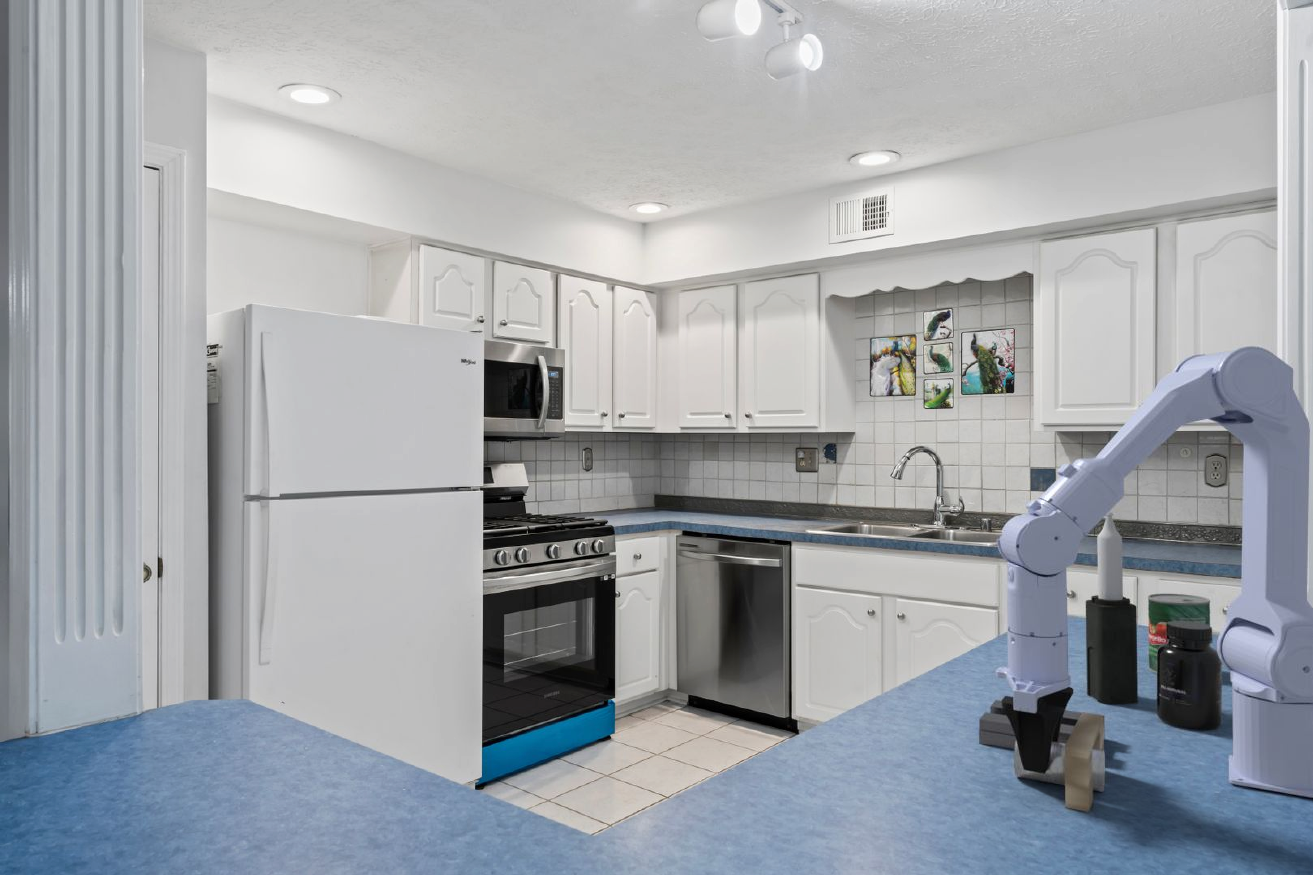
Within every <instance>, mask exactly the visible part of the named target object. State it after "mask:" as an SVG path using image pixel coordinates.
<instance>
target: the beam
mask: <svg viewBox="0 0 1313 875" xmlns="http://www.w3.org/2000/svg"><path fill="white" fill-rule="evenodd" d="M1103 716H1104V715H1103V714H1098V713H1092V712H1091V713H1090V712H1083V711H1082V713H1081V715H1080V717H1079V719H1078V721H1077V723H1076V725H1075V727H1074V729H1073V731H1072V733H1071V735H1070V737H1069V739H1068V741H1067V743H1066V745H1065V785H1064V787H1065V788H1064V789H1065V790H1064V793H1065V794H1064V796H1065V797H1064V798H1065V808H1068V809H1073V810H1076V811H1077V810H1078V811H1081V812H1086V813H1087V812H1088V813H1089V812H1090V810H1091V807H1092V804H1093V801H1094V790H1093V772H1092V748H1096V749H1102V750H1104V748H1105V746H1104V745H1105V744H1104V742H1105V740H1103ZM1104 751H1105V750H1104Z"/></svg>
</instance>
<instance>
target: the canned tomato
mask: <svg viewBox="0 0 1313 875" xmlns="http://www.w3.org/2000/svg"><path fill="white" fill-rule="evenodd" d="M1147 599H1148V601H1147V602H1148V608H1147V610H1148V663H1149V664H1148V669H1149V670H1148V671H1150V672H1151V673H1152V674H1156V675H1157V650H1158V648H1159V647H1160V646H1161V645H1162V644H1164V643H1166V642H1168V639H1167V638H1166V624H1167V623H1168V622H1170V621H1189V622H1197V623H1202V624H1206V625H1209V626H1211V607H1210V606H1211V605H1210V603H1211V600H1210V599H1209V598H1207V597H1203V596H1199V595H1193V594H1183V593H1152V594H1149V595H1148V596H1147Z"/></svg>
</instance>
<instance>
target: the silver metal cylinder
mask: <svg viewBox="0 0 1313 875" xmlns="http://www.w3.org/2000/svg"><path fill="white" fill-rule="evenodd" d="M1065 745H1066V744H1064V743H1058V742H1052V745H1051V753H1050V760H1049V764H1048V768H1047V771H1046V773H1045V774H1043V773H1038V772H1032V771H1027V770H1024V769H1023V766H1022V762H1021V759H1020V754H1019V750H1018V745H1017V741H1016V743H1015V749H1013V750H1014V754H1013V765H1014V767H1013V768H1014V769H1013V770H1014V775H1015V777H1018V778H1021V779H1028V780H1033V781H1040V782H1045V783H1051V784H1054V785H1055V784H1056V785H1062V786H1065ZM1105 754H1106V753H1105V750H1102V749H1096V748H1092V772H1093V792H1094V791H1095V792H1101V793H1104V791H1105V784H1106V783H1105V779H1106V756H1105Z"/></svg>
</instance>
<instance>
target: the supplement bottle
mask: <svg viewBox="0 0 1313 875" xmlns="http://www.w3.org/2000/svg"><path fill="white" fill-rule="evenodd" d="M1166 638H1167V639H1168V642H1166V643H1164V644H1162V645H1161V646H1160V647H1159V648H1158V650H1157V674H1156V715H1157V717H1158V719H1159V720H1160V721H1162V722H1163V723H1165V724H1167V725H1170V726H1172V727H1175V728H1179V729H1185V730H1190V731H1199V732H1200V731H1201V732H1202V731H1204V732H1206V731H1207V732H1208V731H1214V730H1217V729H1219V728H1220V727H1221V726H1222V718H1223V715H1222V714H1223V713H1222V712H1223V664H1222V662H1221V660H1220V659H1219V656H1218V653H1217V649H1215V648H1214V647H1212V646H1211V644H1212V643H1213V642H1214V638H1213V628H1212V626H1211V625H1210V626H1209V625H1206V624H1202V623H1197V622H1189V621H1170V622H1168V623H1167V624H1166Z"/></svg>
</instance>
